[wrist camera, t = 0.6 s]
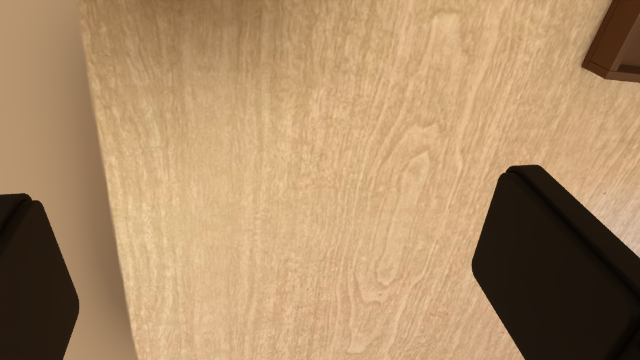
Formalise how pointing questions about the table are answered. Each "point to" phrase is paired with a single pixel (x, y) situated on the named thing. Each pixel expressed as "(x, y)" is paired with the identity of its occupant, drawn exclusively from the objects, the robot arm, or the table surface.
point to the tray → (617, 44)
